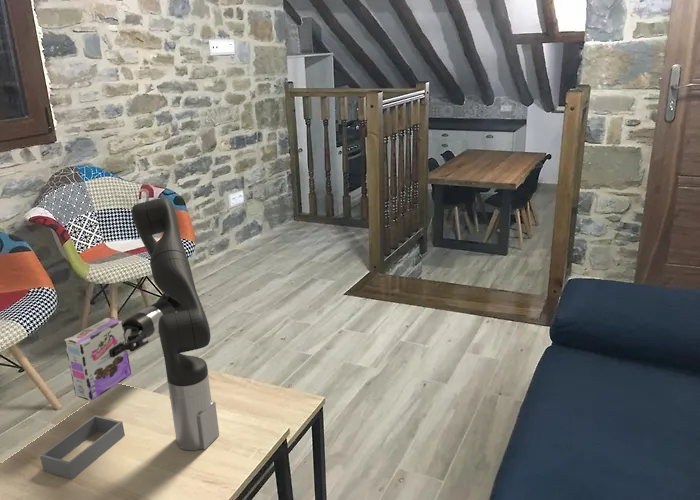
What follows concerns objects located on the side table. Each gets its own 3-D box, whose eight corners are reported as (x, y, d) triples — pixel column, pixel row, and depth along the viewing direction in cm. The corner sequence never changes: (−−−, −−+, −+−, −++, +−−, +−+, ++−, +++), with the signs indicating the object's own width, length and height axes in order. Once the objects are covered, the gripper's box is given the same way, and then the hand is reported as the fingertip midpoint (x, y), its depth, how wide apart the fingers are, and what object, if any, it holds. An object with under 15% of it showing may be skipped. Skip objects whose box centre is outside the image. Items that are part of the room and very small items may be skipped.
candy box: (91, 402, 149) (79, 343, 143) (74, 396, 151) (62, 339, 145) (132, 375, 160) (123, 320, 155) (116, 370, 163) (106, 316, 157)
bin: (124, 435, 146) (122, 421, 145) (72, 479, 131) (69, 464, 130) (97, 428, 149) (94, 415, 148) (43, 470, 135) (40, 455, 133)
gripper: (122, 308, 169) (76, 335, 154) (163, 315, 164) (120, 343, 149) (126, 332, 171) (82, 360, 157) (167, 339, 166) (125, 369, 152)
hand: (101, 352), depth 153 cm, fingers closed on candy box, 6 cm apart
